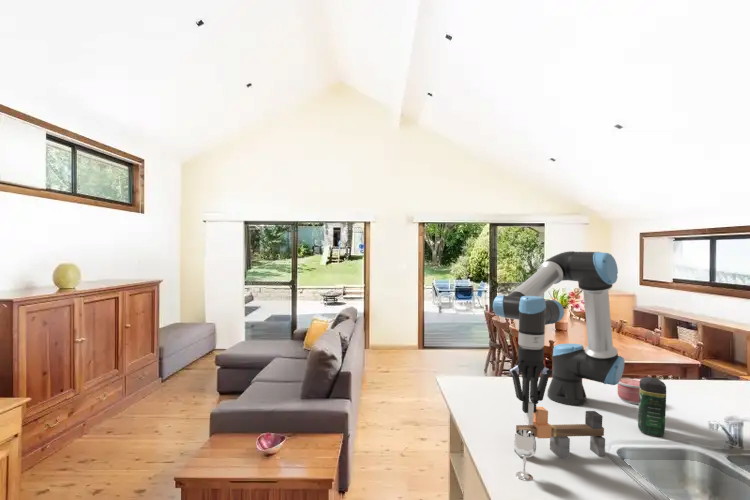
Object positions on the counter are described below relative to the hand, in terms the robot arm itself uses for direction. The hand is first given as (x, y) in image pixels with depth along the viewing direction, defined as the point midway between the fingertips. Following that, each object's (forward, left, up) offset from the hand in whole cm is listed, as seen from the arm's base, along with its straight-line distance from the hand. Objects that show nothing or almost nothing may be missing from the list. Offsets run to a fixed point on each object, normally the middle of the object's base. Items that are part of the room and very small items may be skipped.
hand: (528, 422), depth 130 cm
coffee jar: (-14, +52, -10) cm, 55 cm away
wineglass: (+12, -7, -10) cm, 17 cm away
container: (-43, +66, -10) cm, 79 cm away
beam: (0, +10, -10) cm, 14 cm away
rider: (0, +4, -3) cm, 5 cm away
